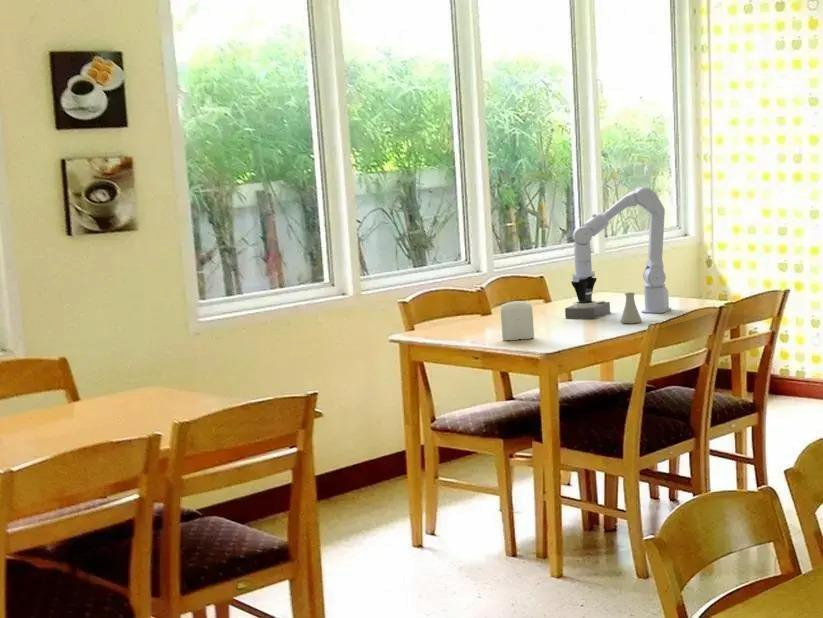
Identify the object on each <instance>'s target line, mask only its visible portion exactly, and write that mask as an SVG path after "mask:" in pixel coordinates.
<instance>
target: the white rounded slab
mask: <svg viewBox="0 0 823 618" xmlns="http://www.w3.org/2000/svg"><path fill="white" fill-rule="evenodd" d="M533 314H534V313H533V306H532V305H531V302H527V301H521V300H516V301H509V302H505V303H503V304H501V308H500V321H501V335H502V337H501V339H502V341H503V340H510V341H519V339H521V340H532V339H531V338H533V339H534V338H535V330H534V329H535V328H534V315H533Z"/></svg>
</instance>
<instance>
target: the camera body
mask: <svg viewBox="0 0 823 618" xmlns="http://www.w3.org/2000/svg"><path fill="white" fill-rule="evenodd" d="M564 312H565V313H564V314H565V319H580V320H581V319H585V320H586V319H587V320H595V319H597V318H600V317H602V316H605V315H607V314H610V313H611V303H610V301H605V300H599V301H596V300H592V303H585V304H583V303H579V301H578V300H577V301H574V302H573V305H570V306H568V307H566V308H564Z"/></svg>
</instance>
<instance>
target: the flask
mask: <svg viewBox="0 0 823 618" xmlns="http://www.w3.org/2000/svg"><path fill="white" fill-rule="evenodd" d="M624 295H625V305H624V309H623V311H622V312H623V313H622V315H621V318H620V322H619V323H621V324H628V325H629V324H630V325H631V324H639V323H641V322H643V321H642V317H641V316H640V312H639V311H638V307H637V305H636V302H635V301H636V300H635V292H625V293H624Z"/></svg>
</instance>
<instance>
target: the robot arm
mask: <svg viewBox="0 0 823 618" xmlns="http://www.w3.org/2000/svg"><path fill="white" fill-rule="evenodd" d="M638 205H639V206H640V207H642V208H643V209H644V210H646V211H647V213H649V228H648V229H649V231H648V245H647V246H648V247H647V248H648V251H647V261H646V265H645V269H644V270H643V273H642V278H643V280H644V281H645V283H644V285H643V287H644V288H643V289H644V309H643V310H641V311H640V313H646V314H647V313H648V314H649V313H650V314H651V313H652V314H656V313H657V314H663V313H665V312H668V311H669V310H672V307H670V306H669V305H670V304H669V303H670V300H669V299H670V298H669V290H668V288H667V287H666V284H665V282H666V278H667V277H666V273H665V271H664V261H663V251H664V250H663V248H664V231H665V214H666V213H665V211H666V210H665V206H664V205H663V202H662V201H661V200H660V198H659V197H658V194H657V193H656V191H654V190H653V189H651V188H649V187H645V186H637V187H636V188H634V189H633V190H631V191H629V192H628V193H625V195H624V196H622V197H621V198H620V199H618V201H616V202H615V203H614V204H613V205H612V206H610V207H609V208H607V210H606V211H604V212H597V213H593V214H592V215H591V217H590V218H589V219H588V220H587V221H585V222H582V223H581V224H580V225H581V226H578V227H576V228H575V229H574V231H573V233H572V235H571V236H572V240H573V241H574V244H573V247H574V248H573V249H574V250H573V251H574V268H575V269H574V271H575V272H574V273H572V281H571V285H572V287H573V288H574V291H575V294H576V298H577V301H585V292H586V288H588V289H591V291H592V293H593V290H594V286H595V284H596V282H597V277H596V275H595V274H596V273H595V272H596V271H595V270H592V269H593V268H592V265H593V264H592V251H591V249H592V248H591V240H592V238H593V237H595V236H597V235H598V234H599V233H600V232H602V231H603V230H605V229H606V228H607V227H608V226H609V223H610V220H611V219H613V218H615V217H616V216H618V214H620V213H621V212H623V211H624V210H625V209H627V208H630V207H637V206H638Z"/></svg>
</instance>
